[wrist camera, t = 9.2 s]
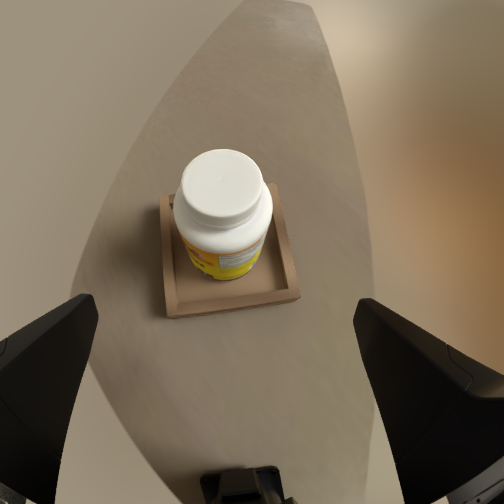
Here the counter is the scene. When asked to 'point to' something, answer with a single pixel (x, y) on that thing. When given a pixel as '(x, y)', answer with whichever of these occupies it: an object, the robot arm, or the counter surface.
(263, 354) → the counter surface
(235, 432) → the counter surface
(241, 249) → the supplement bottle
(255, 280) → the walnut tray
